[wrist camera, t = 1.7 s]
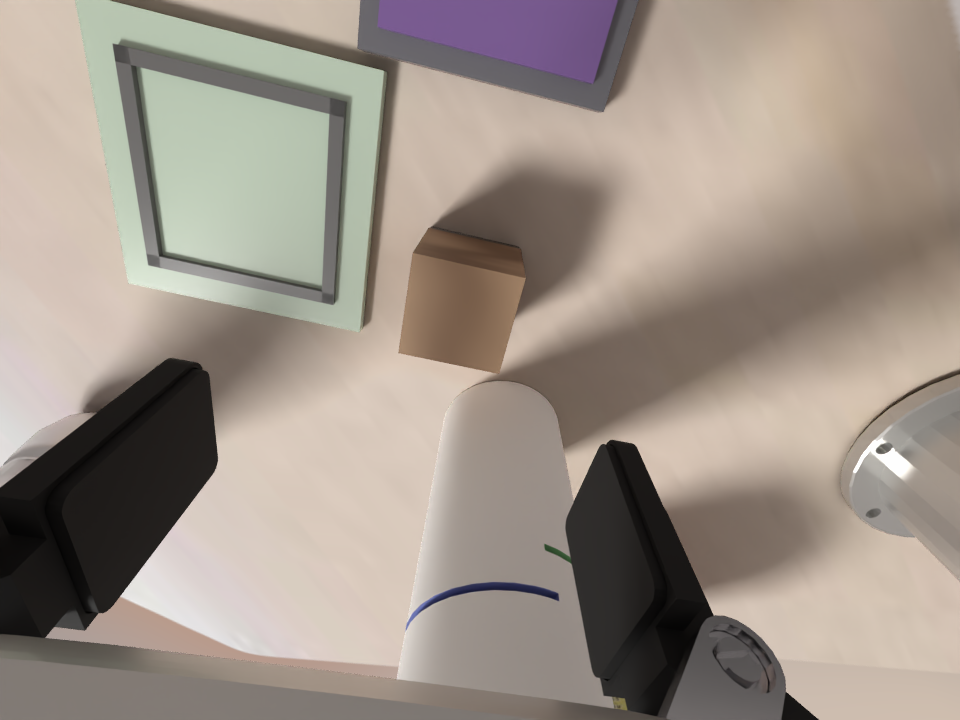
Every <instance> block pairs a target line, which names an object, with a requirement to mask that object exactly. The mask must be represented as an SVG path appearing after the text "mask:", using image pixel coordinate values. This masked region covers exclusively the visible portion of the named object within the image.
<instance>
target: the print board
mask: <svg viewBox="0 0 960 720" xmlns="http://www.w3.org/2000/svg"><path fill="white" fill-rule="evenodd" d="M75 2H76V8H77V13H78V18H79V24H80V29H81V34H82V39H83V45H84V50H85V55H86V61H87V66H88V71H89V77H90V82H91V87H92V93H93V98H94V103H95V108H96V114H97V119H98V124H99V130H100V135H101V140H102V146H103V151H104V156H105V162H106V167H107V172H108V177H109V183H110V188H111V193H112V199H113V204H114V209H115V215H116V220H117V225H118V231H119V236H120V241H121V246H122V252H123V257H124V262H125V268H126V273H127V278H128V284H133V285H138V286H143V287H147V288H152V289H157V290H162V291H166V292H171V293H176V294H180V295H185V296H190V297H195V298H199V299H204V300H209V301H214V302H218V303H223V304H228V305H232V306H237V307H242V308H247V309H251V310H256V311H261V312H265V313H270V314H275V315H280V316H284V317H289V318H294V319H299V320H303V321H308V322H313V323H317V324H322V325H327V326H332V327H336V328H341V329H346V330H351V331H355V332H360V331H361V330H362V328H363V320H364V310H365V299H366V289H367V278H368V268H369V258H370V247H371V237H372V226H373V216H374V206H375V195H376V185H377V174H378V164H379V153H380V143H381V133H382V122H383V112H384V101H385V91H386V80H387V72H386V71H383V70H379V69H375V68H371V67H367V66H363V65H359V64H355V63H351V62H348V61H344V60H340V59H336V58H332V57H328V56H324V55H320V54H316V53H313V52H309V51H305V50H301V49H297V48H293V47H289V46H285V45H281V44H277V43H274V42H270V41H266V40H262V39H258V38H254V37H250V36H246V35H242V34H239V33H235V32H231V31H227V30H223V29H219V28H215V27H211V26H207V25H203V24H200V23H196V22H192V21H188V20H184V19H180V18H176V17H172V16H168V15H165V14H161V13H157V12H153V11H149V10H145V9H141V8H137V7H133V6H130V5H126V4H122V3H118V2H114V1H110V0H75Z"/></svg>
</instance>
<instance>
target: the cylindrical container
mask: <svg viewBox="0 0 960 720" xmlns="http://www.w3.org/2000/svg"><path fill="white" fill-rule="evenodd" d="M573 502H574V500H573V495H572V490H571V485H570V480H569V475H568V469H567V464H566V459H565V454H564V449H563V444H562V439H561V434H560V429H559V424H558V419H557V415H556V413H555V411H554V408H553V407H552V405H551V404H550V403H549V401H548V400H547V399H546V398H545V397H544V396H543V395H541V394H540V393H539V392H537V391H536V390H534V389H532V388H530V387H528V386H526V385H523V384H520V383H515V382H510V381H492V382H485V383H481V384H478V385H476V386H473V387H471V388H469V389H467V390H465V391H464V392H462V393H461V394H460V395H459V396H457V397H456V398H455V399H454V400H453V402H452V403H451V404H450V406H449V407H448V409H447V411H446V414H445V416H444V422H443V427H442V433H441V438H440V444H439V449H438V455H437V460H436V466H435V471H434V477H433V482H432V488H431V493H430V499H429V504H428V510H427V515H426V521H425V526H424V532H423V537H422V543H421V548H420V554H419V559H418V565H417V570H416V576H415V581H414V587H413V592H412V598H411V603H410V609H409V614H408V620H407V625H406V631H405V636H404V642H403V647H402V653H401V658H400V664H399V669H398V675H397V679H399V680H407V681H415V682H423V683H431V684H439V685H446V686H454V687H462V688H469V689H477V690H485V691H493V692H500V693H508V694H516V695H523V696H531V697H539V698H547V699H554V700H560V701H567V702H574V703H581V704H587V705H594V706H601V707H607V708H614V704H613V699H612V697H608V696H603V691H602V686H601V681H600V678H597V677H595V676H594V674H593V672H592V668H591V663H590V658H589V653H588V647H587V642H586V637H585V631H584V626H583V621H582V616H581V610H580V605H579V600H578V594H577V589H576V584H575V578H574V573H573V568H572V563H571V557H570V552H569V547H568V541H567V536H566V530H565V524H566V518H567V515H568V513H569V511H570V509H571V507H572V505H573Z"/></svg>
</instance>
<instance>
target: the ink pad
mask: <svg viewBox="0 0 960 720" xmlns="http://www.w3.org/2000/svg"><path fill="white" fill-rule="evenodd" d="M637 4H638V0H361V2H360V17H359V32H358V47H357V48H358V49H360V50H362V51H364V52H368V53H371V54H375V55H379V56H383V57H387V58H391V59H395V60H398V61H402V62H406V63H410V64H414V65H418V66H422V67H425V68H429V69H433V70H437V71H441V72H445V73H449V74H452V75H456V76H460V77H464V78H468V79H472V80H476V81H479V82H483V83H487V84H491V85H495V86H499V87H503V88H506V89H510V90H514V91H518V92H522V93H526V94H530V95H533V96H537V97H541V98H545V99H549V100H553V101H557V102H560V103H564V104H568V105H572V106H576V107H580V108H584V109H587V110H591V111H595V112H604V109H605V106H606V102H607V99H608V96H609V93H610V90H611V87H612V83H613V80H614V77H615V74H616V71H617V67H618V64H619V61H620V58H621V55H622V51H623V48H624V45H625V42H626V39H627V36H628V32H629V29H630V26H631V23H632V20H633V16H634V13H635V10H636V7H637Z"/></svg>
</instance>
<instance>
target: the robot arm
mask: <svg viewBox="0 0 960 720" xmlns="http://www.w3.org/2000/svg"><path fill="white" fill-rule="evenodd" d="M217 462H218V454H217V444H216V435H215V426H214V416H213V407H212V397H211V388H210V378H209V374H208V372H207V371H204V370H202V367H201V365H200V364H199V363H196V362H190V361H185V360H179V359H174V358H169V359H167V360H165V361H164V362H162V363H161V364H160V365H159V366H157V367H156V368H155V369H153V370H152V371H151V372H149V373H148V374H147V375H146V376H144V377H143V378H142V379H140V380H139V381H138V382H136V383H135V384H134V385H133V386H131V387H130V388H129V389H127V390H126V391H125V392H123V393H122V394H121V395H120V396H118V397H117V398H116V399H114V400H113V401H112V402H110V403H109V404H108V405H107V406H105V407H104V408H103V409H101V410H100V411H99V412H97V413H96V414H95V415H94V416H92V417H91V418H90V419H88V420H87V421H86V422H84V423H83V424H82V425H81V426H79V427H78V428H77V429H75V430H74V431H73V432H71V433H70V434H69V435H68V436H66V437H65V438H64V439H62V440H61V441H60V442H58V443H57V444H56V445H55V446H53V447H52V448H51V449H49V450H48V451H47V452H45V453H44V454H43V455H42V456H40V457H39V458H38V459H36V460H35V461H34V462H33V463H31V464H30V465H29V466H27V467H26V468H25V469H23V470H22V471H21V472H20V473H18V474H17V475H16V476H14V477H13V478H12V479H10V480H9V481H8V482H7V483H5V484H4V485H3V486H1V487H0V720H818V719H817V718H816V717H815V716H814V715H812V714H811V713H810V712H809V711H808V710H807V709H805V708H804V707H803V706H802V705H801V704H800V703H798V702H797V701H796V700H795V699H794V698H792V697H791V696H790V695H789V694H788V693H787V692H786V684H785V676H784V673H783V671H782V668H781V665H780V663H779V662H778V660H777V658H776V657H775V655H774V653H773V651H772V650H771V649H770V648H769V647H768V645H767V644H766V643H765V642H764V641H763V640H762V638H760V637H759V636H758V635H757V634H756V633H755V632H754V631H752V630H751V629H750V628H749V627H747V626H745V625H744V624H742V623H741V622H739V621H737V620H735V619H732V618H729V617H726V616H716V615H715V616H714V615H713V613H712V611H711V609H710V606H709V604H708V602H707V600H706V598H705V595H704V593H703V591H702V589H701V587H700V584H699V582H698V580H697V578H696V575H695V573H694V571H693V569H692V567H691V564H690V562H689V560H688V558H687V556H686V553H685V551H684V549H683V547H682V544H681V542H680V540H679V538H678V536H677V533H676V531H675V529H674V527H673V525H672V522H671V520H670V518H669V516H668V513H667V511H666V510H665V508H664V507H663V505H662V502H661V500H660V498H659V496H658V494H657V491H656V489H655V487H654V485H653V482H652V480H651V478H650V476H649V473H648V471H647V469H646V467H645V465H644V462H643V460H642V458H641V456H640V453H639V451H638V449H637V447H636V446H635V445H634V444H632V443H627V442H621V441H616V440H610V441H609V442H608V443H607V444H606V445H605V444H602V445H601V446H600V447H599V449H598V451H597V453H596V455H595V457H594V459H593V462H592V464H591V466H590V468H589V470H588V472H587V475H586V477H585V479H584V481H583V483H582V485H581V487H580V490H579V492H578V494H577V496H576V498H575V500H574V502H573V505H572V507H571V509H570V511H569V513H568V515H567V518H566V524H565V530H566V536H567V541H568V547H569V552H570V557H571V563H572V568H573V573H574V578H575V584H576V589H577V594H578V600H579V605H580V610H581V616H582V621H583V626H584V631H585V637H586V642H587V647H588V653H589V658H590V663H591V668H592V672H593V674H594V676H595V677H597V678H600V681H601V686H602V691H603V696H608V697H616V698H624V699H625V702H626V706H627V710H621V709H614V708H607V707H601V706H594V705H587V704H581V703H574V702H567V701H560V700H554V699H547V698H539V697H531V696H523V695H516V694H508V693H500V692H493V691H485V690H477V689H469V688H462V687H454V686H446V685H439V684H431V683H423V682H415V681H407V680H399V679H391V678H382V677H375V676H366V675H358V674H351V673H342V672H334V671H327V670H318V669H310V668H302V667H294V666H286V665H277V664H270V663H261V662H253V661H245V660H236V659H227V658H220V657H211V656H202V655H194V654H185V653H177V652H169V651H160V650H152V649H143V648H135V647H127V646H118V645H109V644H99V643H89V642H78V641H69V640H59V639H49V638H45V637H46V636H47V635H48V634H49V632H50V631H51V630H52V629H53V628H54V627H61V628H68V629H77V630H86V629H87V627H88V626H89V624H91V622H92V621H93V620H94V618H95V617H96V616H97V614H98V613H104V612H106V611H108V610H109V609H110V608H111V607H112V606H113V605H114V603H115V602H116V601H117V600H118V598H119V597H120V596H121V594H122V593H123V592H124V590H125V589H126V588H127V587H128V585H129V584H130V583H131V581H132V580H133V579H134V577H135V576H136V575H137V573H138V572H139V571H140V569H141V568H142V567H143V565H144V564H145V563H146V561H147V560H148V559H149V557H150V556H151V555H152V554H153V552H154V551H155V550H156V548H157V547H158V546H159V544H160V543H161V542H162V540H163V539H164V538H165V536H166V535H167V534H168V532H169V531H170V530H171V528H172V527H173V526H174V525H175V523H176V522H177V521H178V519H179V518H180V517H181V515H182V514H183V513H184V511H185V510H186V509H187V507H188V506H189V505H190V503H191V502H192V501H193V499H194V498H195V497H196V495H197V494H198V493H199V492H200V490H201V489H202V488H203V486H204V485H205V484H206V482H207V481H208V480H209V478H210V477H211V476H212V474H213V473H214V471H215V469H216V466H217ZM840 486H841V491H842V495H843V497H844V499H845V501H846V502H847V504H848V506H849V507H850V508H851V509H852V510H853V511H854V513H855V514H856V515H857V516H858V517H859V518H860V519H861V520H862V521H863V522H865V523H866V524H868V525H869V526H871V527H872V528H874V529H877V530H879V531H882V532H885V533H887V534H892V535H897V536H903V537H916V538H917V539H918V540H919V541H920V542H921V543H922V544H923V545H924V546H925V547H926V548H927V549H928V550H929V551H930V552H931V553H932V554H933V555H934V556H935V557H936V558H937V559H938V560H939V561H940V562H941V563H942V564H943V565H944V566H945V567H946V568H947V569H948V570H949V571H950V572H951V573H952V574H953V575H954V576H955V578H956V579H957V580H958V581H959V582H960V374H959V375H956V376H953V377H950V378H948V379H945V380H942V381H940V382H937V383H934V384H932V385H930V386H928V387H926V388H924V389H922V390H920V391H918V392H916V393H914V394H912V395H910V396H908V397H906V398H905V399H903V400H902V401H900V402H899V403H897V404H896V405H894V406H892V407H891V408H889V409H888V410H887V411H886V412H884V413H883V414H882V415H881V416H880V417H878V418H877V419H876V420H875V421H874V422H872V423H871V424H870V425H869V426H868V428H867V429H866V430H865V431H864V432H863V433H862V434H861V435H860V436H859V438H858V439H857V440H856V442H855V443H854V445H853V446H852V448H851V449H850V451H849V453H848V454H847V457H846V459H845V462H844V464H843V467H842V470H841V479H840Z"/></svg>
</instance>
